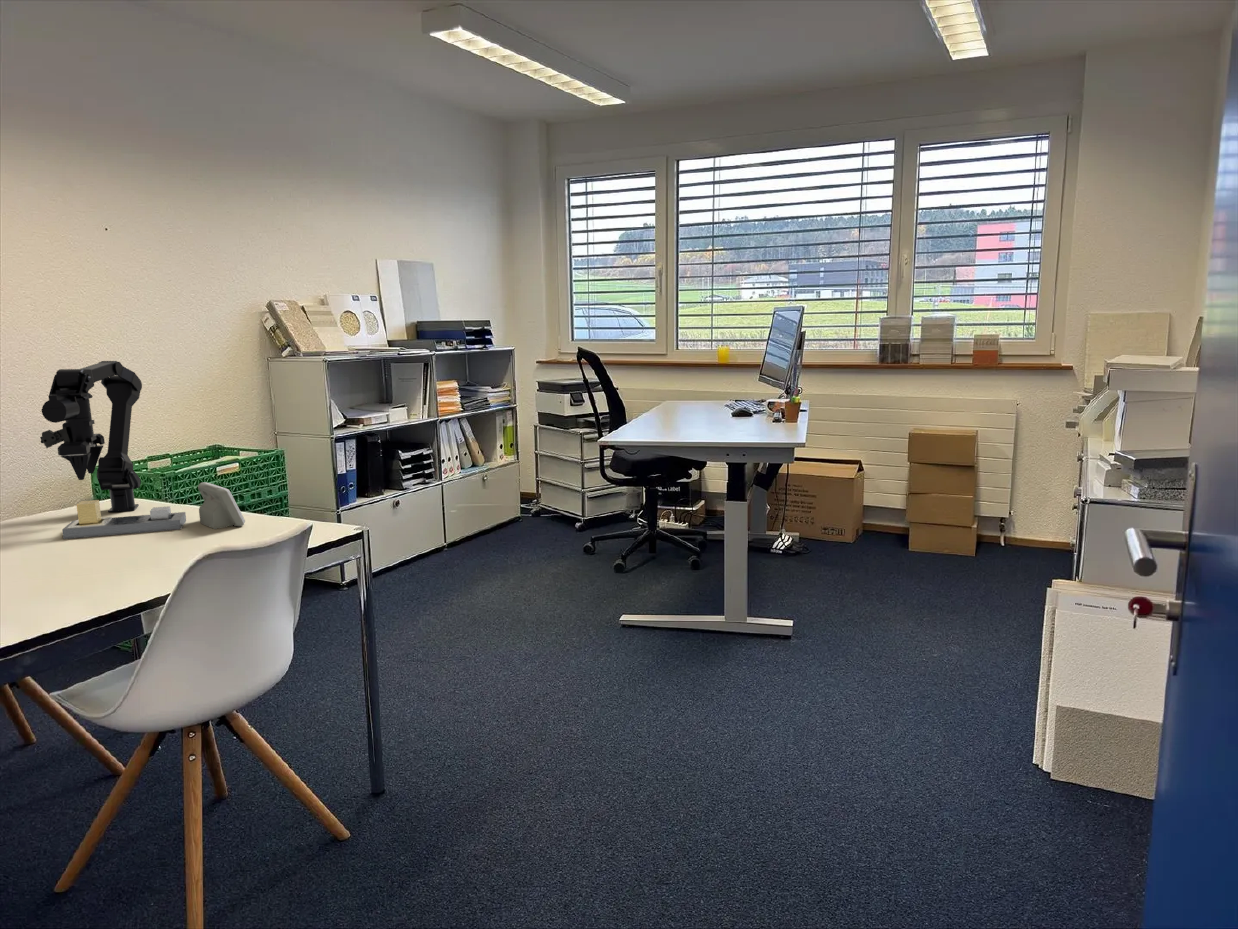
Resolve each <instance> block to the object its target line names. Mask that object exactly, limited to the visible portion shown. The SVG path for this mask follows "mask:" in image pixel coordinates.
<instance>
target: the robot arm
mask: <svg viewBox="0 0 1238 929" xmlns="http://www.w3.org/2000/svg"><path fill="white" fill-rule="evenodd" d="M96 382H100V384H101V385H102V387H104V388H105V389H106V393H105V394H106V396H107V397H108V399H109V401H110V402H111V412H110V413H111V414H110V424H109V435H108V443H107V444H108V445H107V453H106V454H105V455H104V456H102V457H101V453H102V450H103V448H104V444H106V442H105V436H104V435H102V433H94V432H95V431H94V424H96V423H95V419H93V417H92V410H91V403H90V402H91V401H90V399H92V398H93V395H92V394H91V393H90V392H89V391H90V390H91V389H92V388H94V387H95V383H96ZM142 387H143V383H142V380H141V379H140V377H139V376H138V375H137V374H136V373H135V371H133V370H131V369H129V368H127V367H125V366H124V365H123V364H122V363H121V362H120V361H117V360H101V361H99V362H98V363H95V364H91V365H88V366H84V367H81V368H62V369H61V368H59V369H58V370H57V371H56V372H55V374H54V377H53V380H52V383H51V386H50V390H49V394H48V397H47V398H48V400H47V401H45V402H44V403H43V405H42V408H41V414H42V416H43V417H44V419H45V420H46V421H48V422H50V423H60V422H63V423H62V428H61V429H58V430H55V431H53V430H51V429H48V430H45V431H43V432H41V436H40V437H39V439H40V443H41V444H44V446H45V448H46V449H49V448H51V447H53V446H55V445H57V444H60V443H61V444H60V445H59V446H58V447H57V453H58V454H57V455H58V456H60V457H61V458H62V459H65V460H66V461H68V462H69V463H70V465H71V467H72V468H73V470H74V473H75V475H76V477H77V480H78V481H83V480H84V479H85V477H86V473H88V474H93V473H94V472H95V469H96V467H97V470H96V480H97V481H98V484H99V487H100V490H101V491H109V497H110V504H111V506H110V508H109V509H108V510H107V513H116V512H119V513H120V512H130V511H132V512H133V511H135V510H136V509H137V508H138V507H139V504H138V503H135V501H136V500H135V494H134V490H135V489H140V487H141V478H140V476H139V475H138V474H137V472H136V471H135V470H134V464H133V462H132V460H131V458H130V456H128V453H129V444H130V442H129V441H130V433H131V432H130V431H131V422H132V409H133V406H134V405H135V403H137V402H138V400H139V399H140V396H141V391H142V389H143V388H142ZM62 442H63V443H62Z"/></svg>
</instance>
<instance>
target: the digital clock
mask: <svg viewBox="0 0 1238 929" xmlns="http://www.w3.org/2000/svg"><path fill="white" fill-rule="evenodd" d="M197 489H198V491H199V493H200V495H201V497H202V500H203V503H202V504H201V505H200V506H199V508H198V513H199V524H201V525H204V526H206V527H209V528H211V529H214V530H218V529H217V528H219V529H224V528H228V527H227V526H229V527H233V525H234V527H242V526H244V525H245V523H246V519H245V518H244V516H243V514H242V511H241V509H240V508H239V506H238V504H237V502H236V500H235V498H234V496H233V494H232V492H231V491H230V489H228V488H225V487H222V486H220V485H216V484H214V483H210V482H203V481H202V482H200V483H199V484H198V486H197Z"/></svg>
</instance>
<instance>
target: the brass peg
mask: <svg viewBox="0 0 1238 929" xmlns="http://www.w3.org/2000/svg"><path fill="white" fill-rule="evenodd" d="M76 511H77V512H76V513H77V518H78V519H77V520H79V525H90V524H100V523H101V522H102V519H101V518H102V512H101V506H100V499H94V500H82V501H81V500H80V501H79V502H78V503H77V504H76Z"/></svg>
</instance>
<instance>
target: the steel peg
mask: <svg viewBox="0 0 1238 929" xmlns="http://www.w3.org/2000/svg"><path fill="white" fill-rule="evenodd" d="M171 513H172V510H171V506H170V505H169V506H168V505H167V506H158V507H157V506H156V507H152V508H150V510H149V515H150V516H151V521H154V520H166V519H172V518H171Z"/></svg>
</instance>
